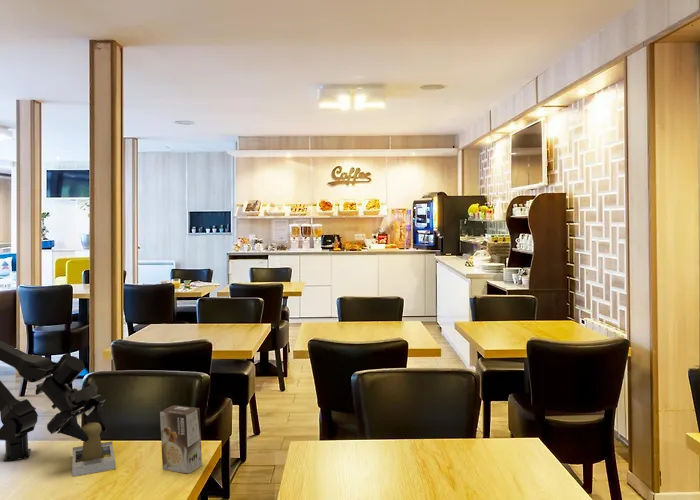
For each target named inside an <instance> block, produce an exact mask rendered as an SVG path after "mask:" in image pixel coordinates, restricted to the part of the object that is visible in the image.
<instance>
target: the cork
mask: <svg viewBox="0 0 700 500" xmlns="http://www.w3.org/2000/svg"><path fill="white" fill-rule="evenodd" d="M81 428H82V430H83V431H84V432H85V433H86V435H87V436H88V438H89V440H88V441H87V442H85V441H82V446H83V450H82V458H81V461H80V462H82V461H88V460H94V459H100V458H105V457H104V455H103V450H102V445H101V443H102V440H101V435H100V434H101V433H102V429H101V425H100V424H99V423H96V422H93V423H90V422H87V423H86V424H83V425H82V426H81Z"/></svg>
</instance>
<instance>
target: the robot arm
mask: <svg viewBox="0 0 700 500" xmlns="http://www.w3.org/2000/svg"><path fill="white" fill-rule="evenodd" d="M0 361H1V362H2V363H4V364H5V365H8V366H10V367H12V368H14V369H15V370H16V371H17V372H18V375H19V376H20V377H22V378H23V379H24V380H26V381H27V382H28V383H36V382H38V381H42V380H43V381H42V382H41V383H38V384H36V386H35V388H36V389H35V393H34V394H35V395H40V394H43V393H44V394H45V395H46V397H47V398H48V399H49V400H50V401H51V403H52V405H51V408H52V409H53V410H55V409H57V410H58V411H59V412H58V413H56V414H55V415H54V416H53V417H52V418H51V419H50V420H49V421H48V423H47V424H46V429H47V431H48V432H49V433H50V435H53V434H55V433H57V434H62V435H66V436H69V437H72V438H75V439H77V440H80V441H82V442H83V441H85V442H87V441H88V440H89V438H88V436H87V435H86V433H85V432H84V431H83V430H82V426H80V424H79V423H78V417H79V416H80V415H84V416H85V418H84V420H86V421H87V422H88V423H93V422H96V423H99V424H100V425H101V429H102V430H101V432H106V431H107V429H108V427H107V426H106V422H105V421H104V417H103V414H102V407H103V406H104V402H105V401H106V398H105V397H104V396H103V395H102V394H98V393H97V392H98V390H99V386H98V385H97V384H96V383H95V382H94V381H89V382H88V383H85V384H84V387H83V388H82V389H79V390H78V389H77V388H72V389H71V387H70V386H69V384H70V385H71V384H72V383H73V382H74V381H75V380H76V378H78V376H79V375H80V374H81V373H82V372H83V371H84V370H85V368H86V367H85V366H86V365H85V363H84V361H83V360H82V359H81V358H78V357H77V356H74V355H71V354H70V353H69V352H68V353H64V354H63V355H62V356H61V357H60V359H59V360H58V361H57V362H56V361H52V359H50V358H48V357H46V356H42V355H35V354H29V353H26V352H24V351H23V350H20V349H18V348H16V347H14V346H12V345H10V344H8V343H7V342H4V341H2V340H0ZM38 416H39V414H38V412H37V407H35V406H33V404H32V403H31V402H30V400H29V399H27V398H26V399H23V400H19V399H17V398H16V397H15V396H14V395H13V394H12V393H11V391H10V390H9V389H8V388H7V386H6V385H5V384H4V383H3V382H2V381H1V380H0V421H1V423H2V426H1V427H0V441H5V453H4V457H3V462H10V461H15V460H21V459H27V458H30V455H31V451H32V448H29V436H28V435H29V433H30V432H33V431H34V430H35V427H36V424H37V423H38Z"/></svg>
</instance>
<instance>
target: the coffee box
mask: <svg viewBox="0 0 700 500" xmlns="http://www.w3.org/2000/svg"><path fill="white" fill-rule="evenodd" d="M159 417H160V418H159V419H160V421H159V422H160V439H161V440H160V441H161V445H160V446H161V461H162V462H161V463H162V465H161V466H162V470H164V471H165V470H166V471H171V472H178V473H184V474H190V473H192V472H195V470H197V469H198V468H200V467H202V466H203V459H202V458H203V456H202V455H203V454H202V435H201V433H202V432H201V429H202V428H201V411H200V407H192V406H183V405H176V404H175V405H171V406H168V407H167V408H164V410H161V411H159Z"/></svg>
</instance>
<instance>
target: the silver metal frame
mask: <svg viewBox="0 0 700 500" xmlns="http://www.w3.org/2000/svg"><path fill="white" fill-rule="evenodd" d="M101 445H102V450H103V455H110V456H107V457H106V456H105V457H104V458H100V459H94V460H88V461H82V450H83V445H82V446H76V447H75V446H74V447H72V455H71V456H72V459H71V460H72V463H71V466H72V468H71V470H72V477H77V476H83V475H88V474H89V475H90V474H93V473H100V472H107V471H110V470H111V471H112V470H116V458H115V452H114V444H113V441H106V442H101ZM79 459H80V460H81V461H82V462H81V461H77V460H79Z"/></svg>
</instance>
